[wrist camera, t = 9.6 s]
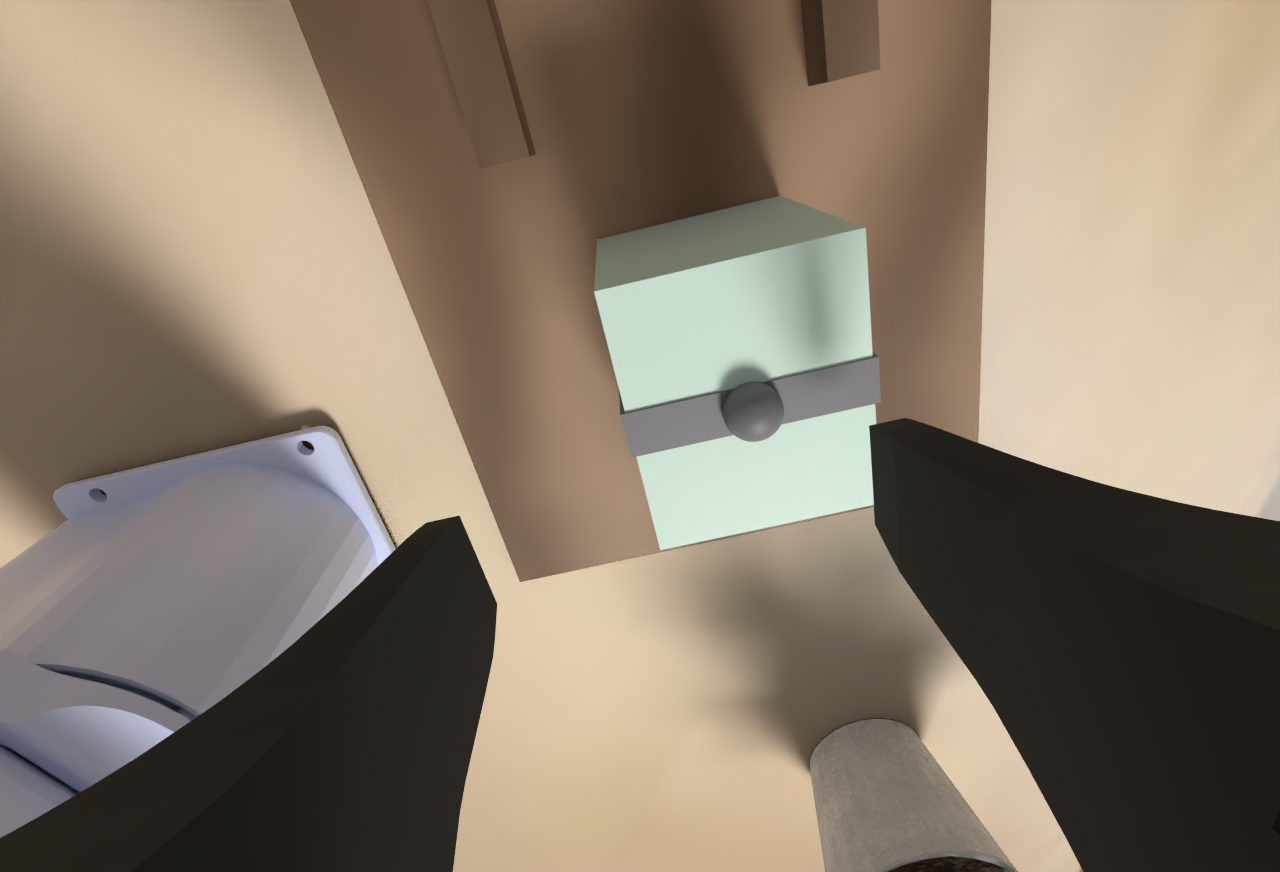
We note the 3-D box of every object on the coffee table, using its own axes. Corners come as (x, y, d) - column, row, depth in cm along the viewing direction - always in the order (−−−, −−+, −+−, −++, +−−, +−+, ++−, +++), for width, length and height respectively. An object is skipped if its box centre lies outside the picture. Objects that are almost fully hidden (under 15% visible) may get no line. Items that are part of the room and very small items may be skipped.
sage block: (641, 433, 19) (658, 574, 13) (593, 240, 17) (588, 303, 11) (805, 396, 19) (900, 523, 13) (783, 194, 16) (889, 233, 10)
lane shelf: (523, 564, 23) (514, 611, 20) (120, -481, 12) (3, -629, 9) (961, 470, 22) (1002, 509, 20) (981, -751, 11) (1080, -983, 8)
